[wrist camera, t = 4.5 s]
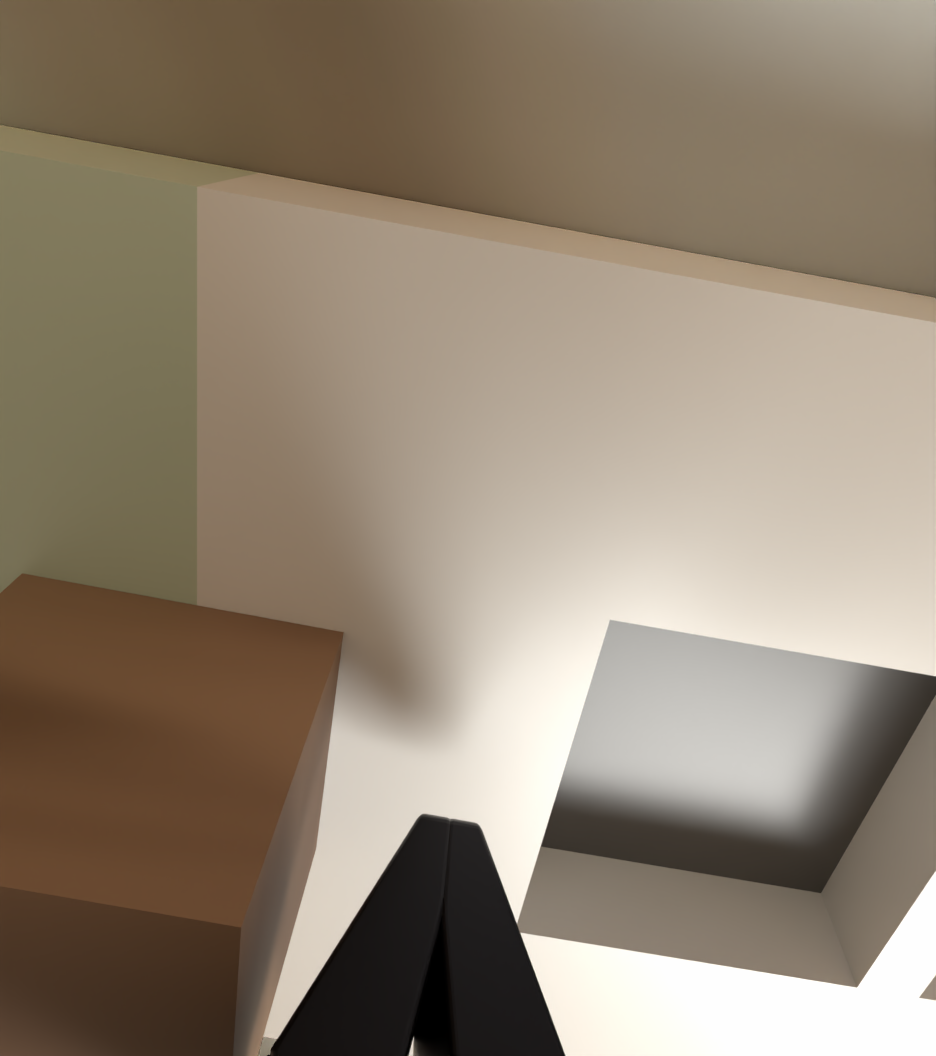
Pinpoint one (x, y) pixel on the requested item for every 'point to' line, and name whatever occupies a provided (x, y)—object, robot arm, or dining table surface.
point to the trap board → (523, 565)
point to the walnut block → (152, 817)
